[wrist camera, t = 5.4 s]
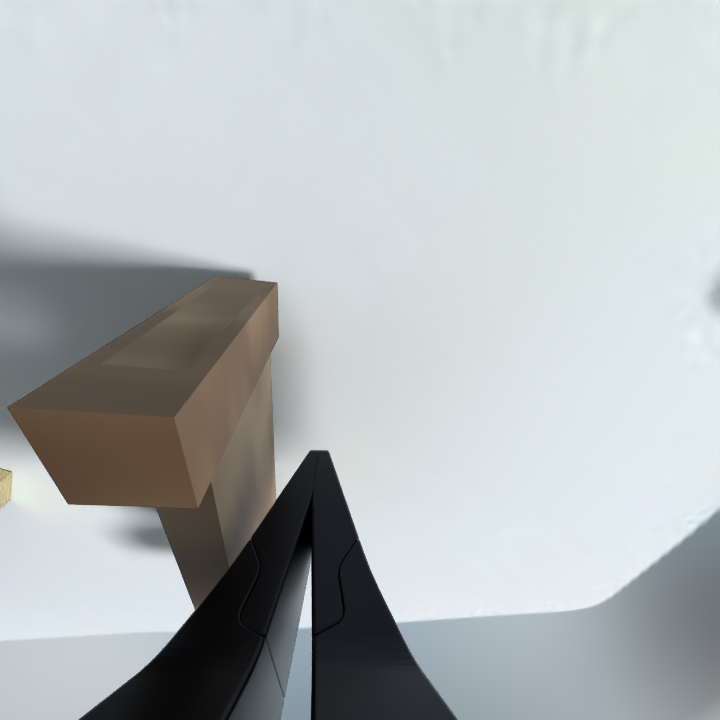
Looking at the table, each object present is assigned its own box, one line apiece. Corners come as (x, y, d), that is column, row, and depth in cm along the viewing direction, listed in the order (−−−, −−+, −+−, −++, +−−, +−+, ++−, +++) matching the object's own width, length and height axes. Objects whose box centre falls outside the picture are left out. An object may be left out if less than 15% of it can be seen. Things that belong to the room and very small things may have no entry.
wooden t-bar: (283, 534, 15) (250, 708, 10) (248, 533, 15) (197, 710, 10) (277, 282, 9) (173, 417, 3) (214, 275, 8) (7, 407, 3)
